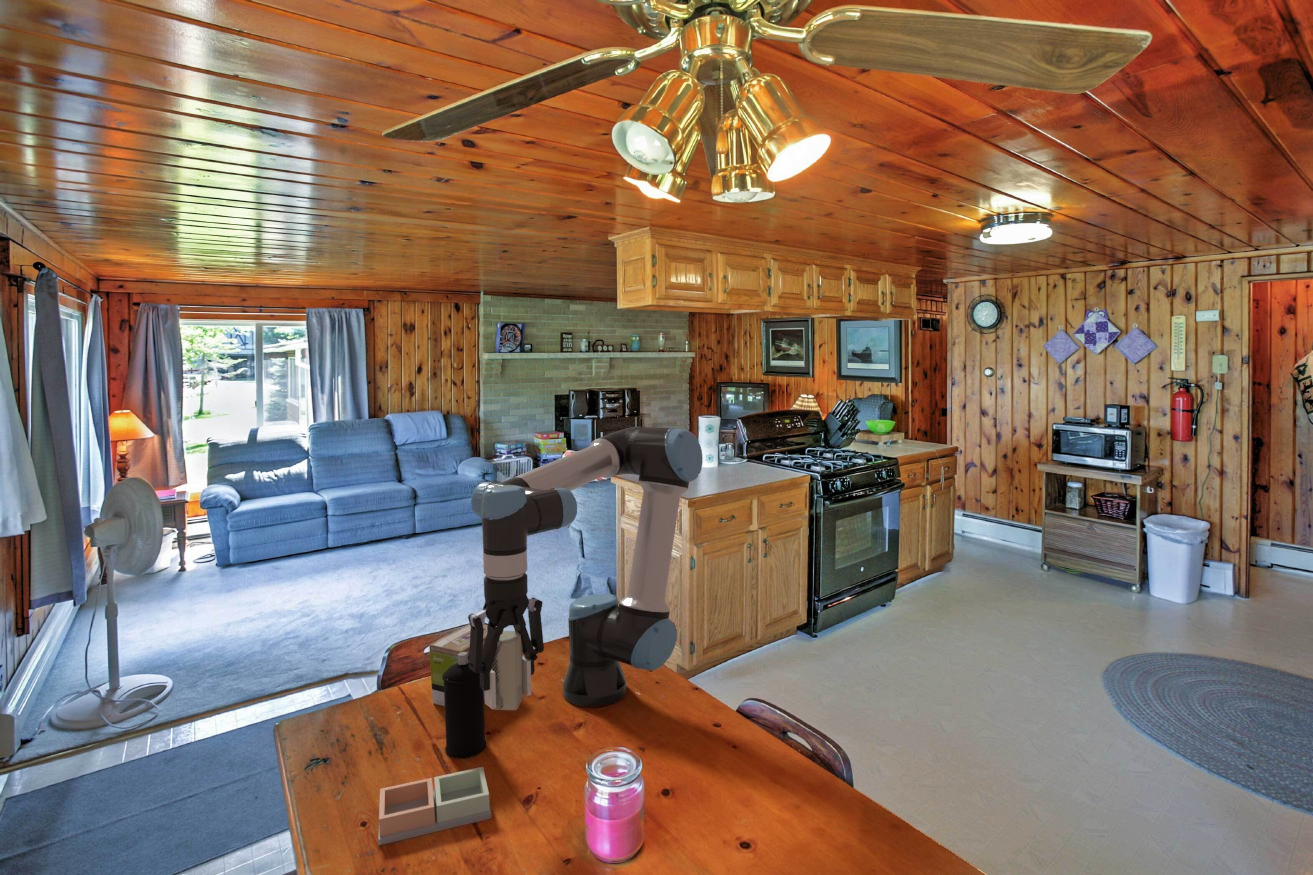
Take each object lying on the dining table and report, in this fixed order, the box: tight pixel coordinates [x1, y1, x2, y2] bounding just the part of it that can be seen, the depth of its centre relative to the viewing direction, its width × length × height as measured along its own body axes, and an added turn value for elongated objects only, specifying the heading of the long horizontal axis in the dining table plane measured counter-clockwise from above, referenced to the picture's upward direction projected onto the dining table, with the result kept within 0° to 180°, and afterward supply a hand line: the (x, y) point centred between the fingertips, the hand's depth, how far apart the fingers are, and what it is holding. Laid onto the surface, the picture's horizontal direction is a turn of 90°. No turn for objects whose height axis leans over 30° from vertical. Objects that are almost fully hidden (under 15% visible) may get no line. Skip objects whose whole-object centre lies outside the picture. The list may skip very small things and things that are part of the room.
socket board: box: [377, 766, 492, 846], centre depth 116 cm, size 18×10×4 cm, turn 111°
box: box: [493, 630, 524, 711], centre depth 119 cm, size 5×4×13 cm
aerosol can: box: [442, 652, 488, 760], centre depth 136 cm, size 8×8×20 cm
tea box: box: [428, 623, 493, 708], centre depth 158 cm, size 15×10×15 cm
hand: (508, 698), depth 120 cm, fingers closed on box, 6 cm apart
